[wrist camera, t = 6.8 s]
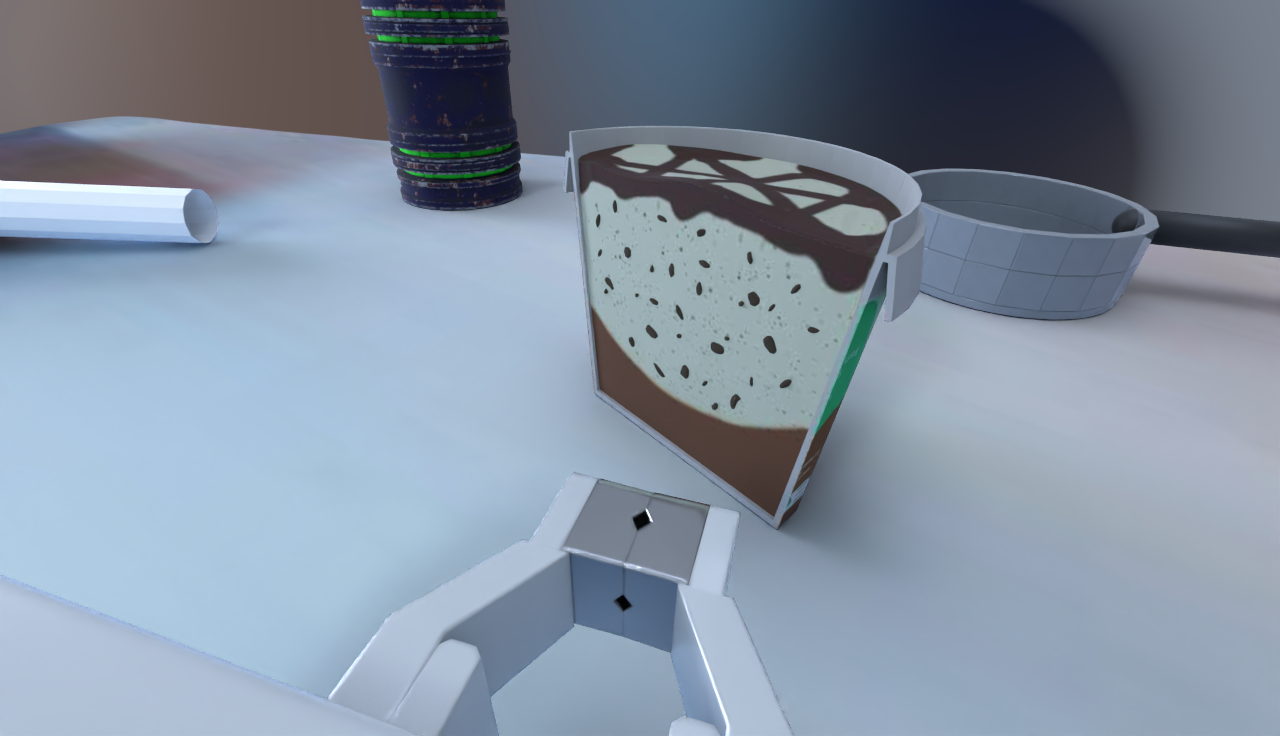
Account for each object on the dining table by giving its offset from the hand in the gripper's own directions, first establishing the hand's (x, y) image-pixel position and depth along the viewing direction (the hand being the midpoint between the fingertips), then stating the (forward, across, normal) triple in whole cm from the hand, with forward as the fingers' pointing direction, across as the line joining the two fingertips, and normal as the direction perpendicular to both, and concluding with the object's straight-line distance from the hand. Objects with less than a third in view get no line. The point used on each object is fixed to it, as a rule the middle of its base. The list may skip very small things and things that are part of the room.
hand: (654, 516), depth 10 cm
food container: (+11, 0, +6) cm, 13 cm away
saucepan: (+31, -13, +6) cm, 34 cm away
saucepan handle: (+31, -24, +3) cm, 40 cm away
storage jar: (+34, +26, +6) cm, 43 cm away
